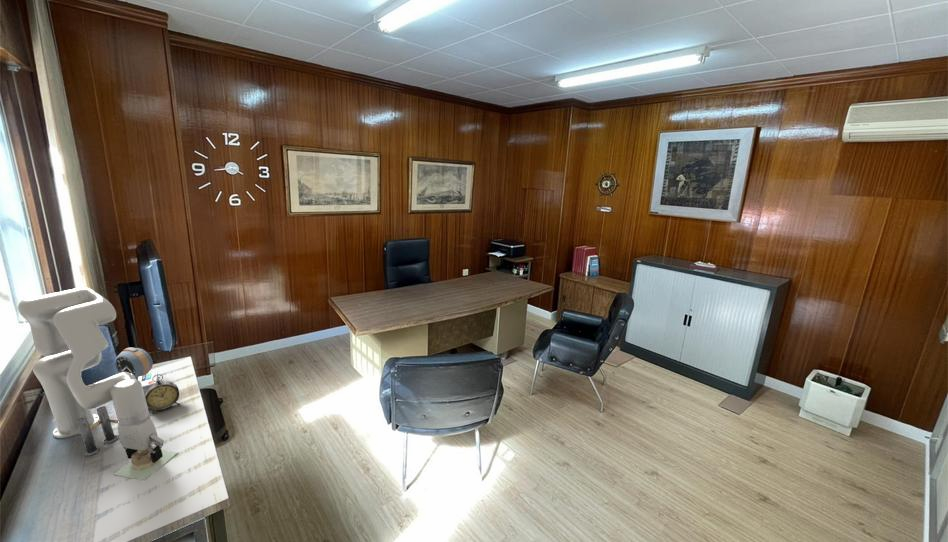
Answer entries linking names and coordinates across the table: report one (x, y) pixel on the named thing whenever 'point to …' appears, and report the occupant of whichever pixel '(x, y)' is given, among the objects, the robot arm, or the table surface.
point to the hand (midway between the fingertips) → (145, 457)
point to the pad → (144, 474)
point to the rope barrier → (86, 429)
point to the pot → (142, 460)
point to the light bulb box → (148, 381)
